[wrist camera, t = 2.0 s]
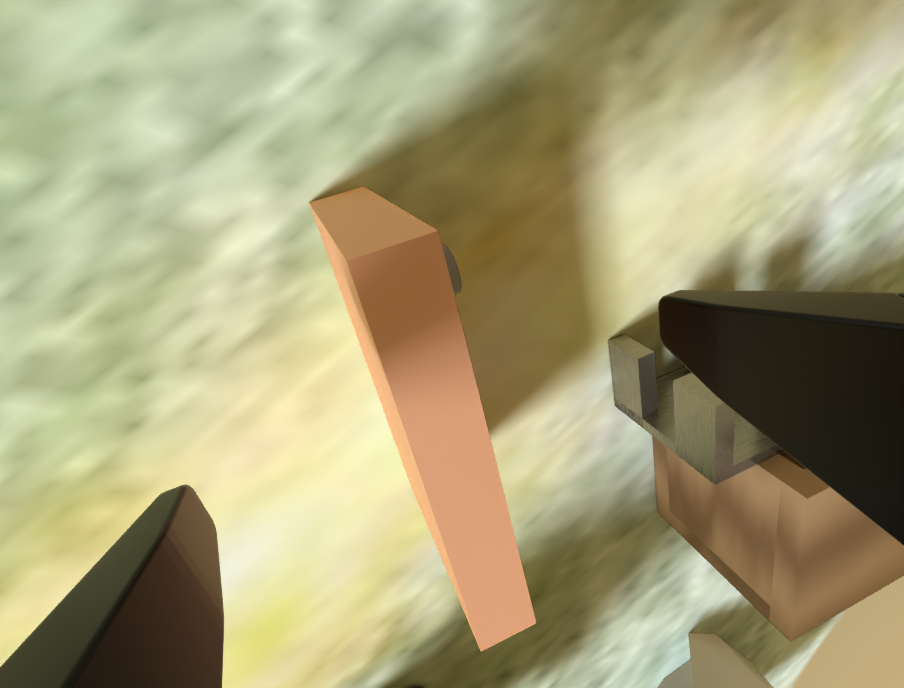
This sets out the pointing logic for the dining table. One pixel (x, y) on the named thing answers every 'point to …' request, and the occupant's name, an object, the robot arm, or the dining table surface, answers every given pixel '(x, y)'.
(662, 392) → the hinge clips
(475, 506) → the cabinet door
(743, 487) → the cabinet
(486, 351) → the dining table surface
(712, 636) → the toilet tissue
